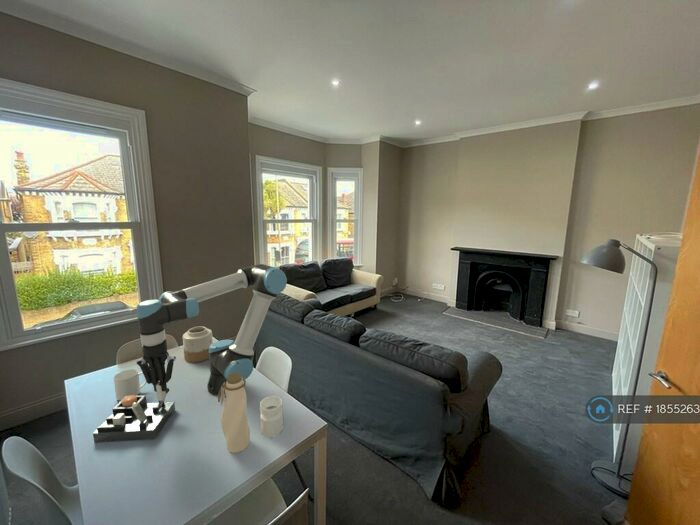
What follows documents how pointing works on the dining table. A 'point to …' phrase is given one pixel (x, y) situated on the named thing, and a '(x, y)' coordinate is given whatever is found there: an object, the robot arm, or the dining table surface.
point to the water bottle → (234, 413)
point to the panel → (135, 422)
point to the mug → (127, 383)
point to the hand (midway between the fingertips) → (161, 398)
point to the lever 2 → (163, 399)
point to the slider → (119, 419)
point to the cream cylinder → (271, 416)
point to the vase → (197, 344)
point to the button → (129, 401)
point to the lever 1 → (139, 412)
